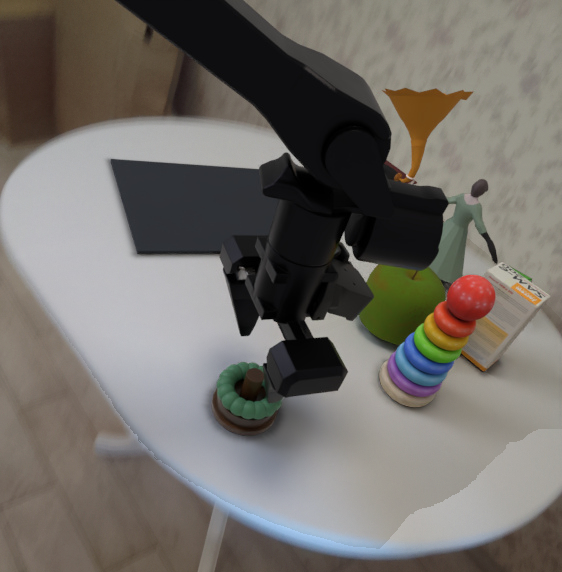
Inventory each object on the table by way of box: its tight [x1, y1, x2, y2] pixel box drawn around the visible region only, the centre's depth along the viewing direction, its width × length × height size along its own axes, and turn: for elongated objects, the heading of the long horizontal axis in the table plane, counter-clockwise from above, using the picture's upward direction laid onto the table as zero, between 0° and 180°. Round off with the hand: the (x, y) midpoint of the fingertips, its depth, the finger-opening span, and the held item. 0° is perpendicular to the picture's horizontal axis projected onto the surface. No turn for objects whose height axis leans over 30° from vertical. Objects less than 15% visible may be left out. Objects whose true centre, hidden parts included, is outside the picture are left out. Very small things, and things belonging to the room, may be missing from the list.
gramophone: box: [381, 87, 474, 185], centre depth 88 cm, size 20×20×25 cm
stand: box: [210, 368, 278, 436], centre depth 57 cm, size 8×8×6 cm
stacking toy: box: [378, 274, 496, 408], centre depth 62 cm, size 8×8×19 cm
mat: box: [110, 158, 279, 255], centre depth 85 cm, size 32×24×1 cm
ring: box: [215, 361, 284, 420], centre depth 57 cm, size 8×8×2 cm
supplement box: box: [460, 261, 552, 372], centre depth 73 cm, size 8×5×13 cm, turn 43°
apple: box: [358, 264, 447, 346], centre depth 72 cm, size 11×11×11 cm
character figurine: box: [429, 178, 499, 283], centre depth 81 cm, size 16×8×18 cm, turn 42°
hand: (257, 366), depth 54 cm, fingers open, 9 cm apart
